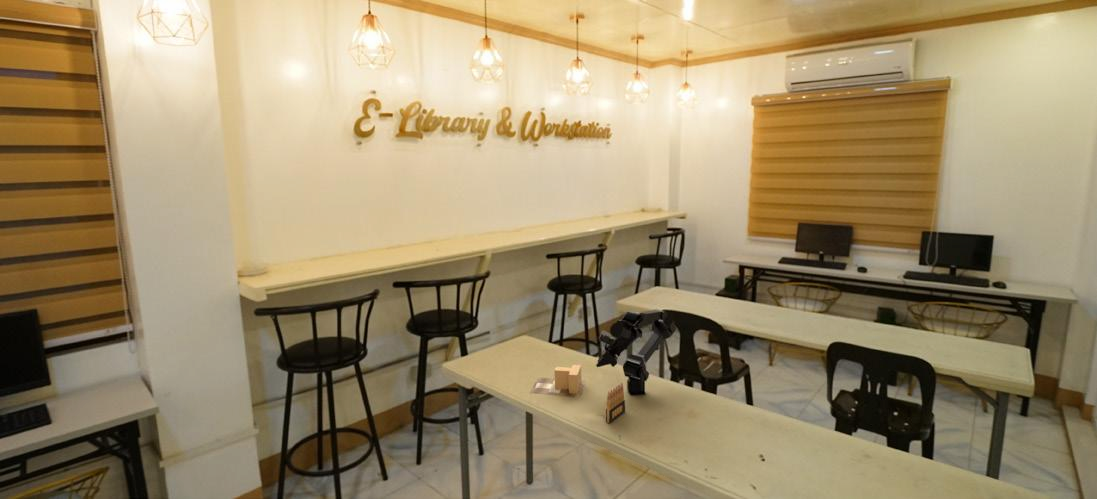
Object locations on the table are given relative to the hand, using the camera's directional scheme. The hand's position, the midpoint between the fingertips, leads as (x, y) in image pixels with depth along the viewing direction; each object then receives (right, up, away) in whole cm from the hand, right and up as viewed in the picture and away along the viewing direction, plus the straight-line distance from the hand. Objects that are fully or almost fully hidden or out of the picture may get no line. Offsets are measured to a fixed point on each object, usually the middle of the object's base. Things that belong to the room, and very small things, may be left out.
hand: (597, 364), depth 211 cm
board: (-16, -12, +6) cm, 21 cm away
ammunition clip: (+5, -16, -17) cm, 24 cm away
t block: (-12, -11, +5) cm, 17 cm away
